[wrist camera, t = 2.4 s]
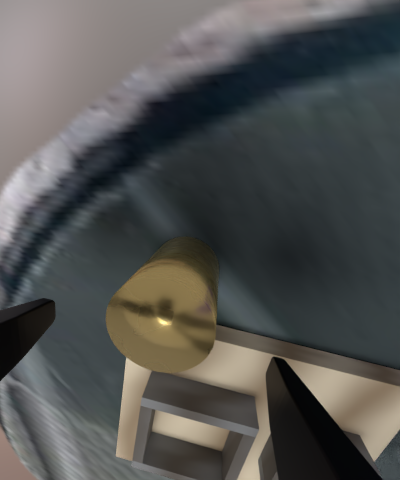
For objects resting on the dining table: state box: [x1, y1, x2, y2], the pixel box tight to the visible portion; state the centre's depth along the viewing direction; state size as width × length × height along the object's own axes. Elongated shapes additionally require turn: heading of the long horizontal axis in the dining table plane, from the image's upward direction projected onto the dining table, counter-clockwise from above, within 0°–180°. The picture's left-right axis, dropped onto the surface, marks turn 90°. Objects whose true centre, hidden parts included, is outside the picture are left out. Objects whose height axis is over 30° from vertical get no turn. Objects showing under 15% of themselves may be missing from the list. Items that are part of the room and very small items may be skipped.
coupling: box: [106, 237, 219, 373], centre depth 11 cm, size 5×5×6 cm
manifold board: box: [116, 325, 400, 480], centre depth 15 cm, size 20×16×4 cm
